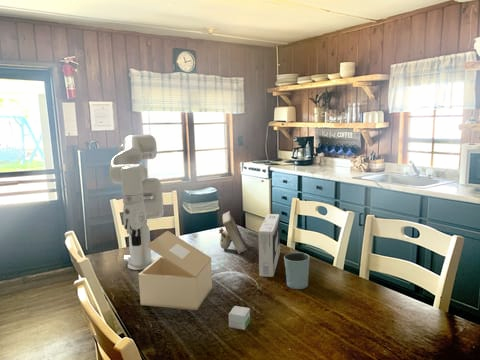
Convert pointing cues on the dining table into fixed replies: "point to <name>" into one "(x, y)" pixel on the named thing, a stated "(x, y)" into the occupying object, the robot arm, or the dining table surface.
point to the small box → (239, 317)
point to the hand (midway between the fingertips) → (136, 245)
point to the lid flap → (179, 253)
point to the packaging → (269, 245)
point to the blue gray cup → (297, 269)
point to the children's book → (231, 234)
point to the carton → (173, 286)
